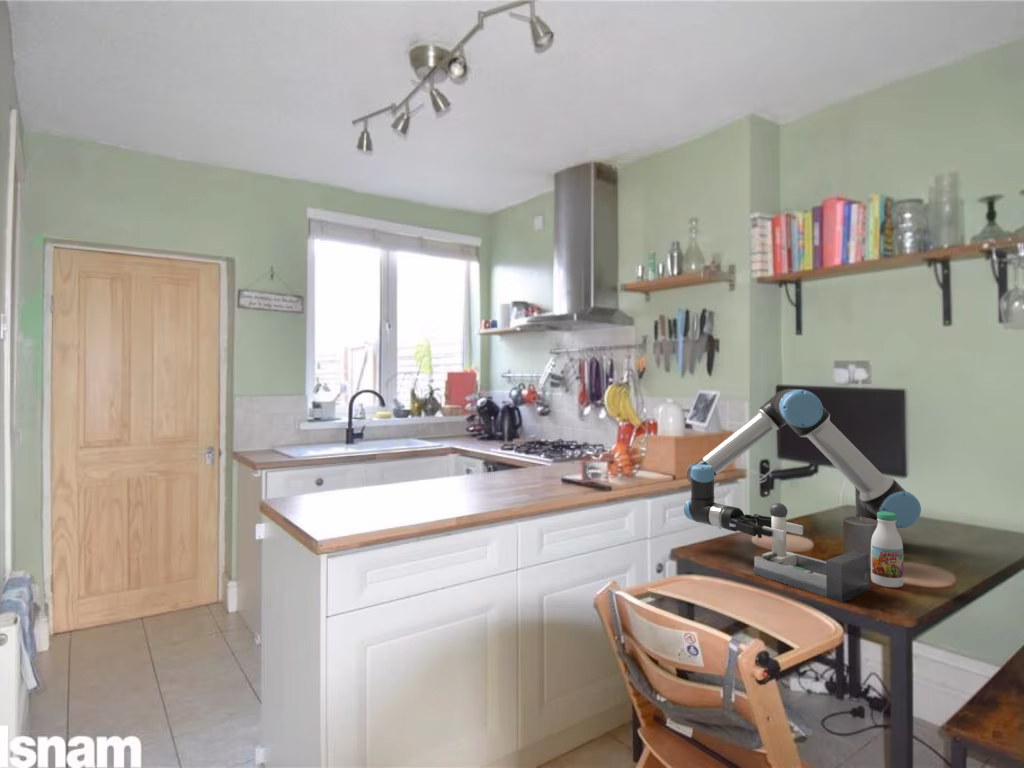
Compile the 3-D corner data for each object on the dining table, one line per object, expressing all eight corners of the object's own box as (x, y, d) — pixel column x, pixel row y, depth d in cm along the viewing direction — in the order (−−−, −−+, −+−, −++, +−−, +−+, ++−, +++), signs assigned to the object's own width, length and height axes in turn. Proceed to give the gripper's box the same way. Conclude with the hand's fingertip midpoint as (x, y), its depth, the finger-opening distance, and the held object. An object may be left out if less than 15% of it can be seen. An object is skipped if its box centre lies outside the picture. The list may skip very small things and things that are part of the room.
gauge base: (753, 573, 173) (752, 540, 173) (780, 564, 180) (780, 532, 180) (841, 602, 151) (841, 564, 151) (868, 590, 159) (868, 553, 158)
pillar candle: (837, 559, 184) (836, 512, 184) (868, 558, 184) (868, 511, 183) (854, 570, 174) (854, 521, 174) (887, 569, 174) (887, 520, 174)
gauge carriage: (755, 566, 172) (755, 504, 171) (777, 559, 178) (777, 499, 177) (774, 572, 167) (773, 508, 166) (796, 564, 173) (795, 503, 172)
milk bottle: (864, 579, 167) (864, 510, 166) (889, 577, 167) (889, 509, 167) (884, 589, 159) (883, 517, 159) (910, 587, 160) (910, 515, 159)
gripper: (747, 523, 194) (813, 539, 175) (705, 534, 182) (771, 552, 163) (747, 501, 194) (813, 514, 175) (705, 511, 182) (771, 526, 163)
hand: (793, 533), depth 169 cm, fingers open, 9 cm apart
